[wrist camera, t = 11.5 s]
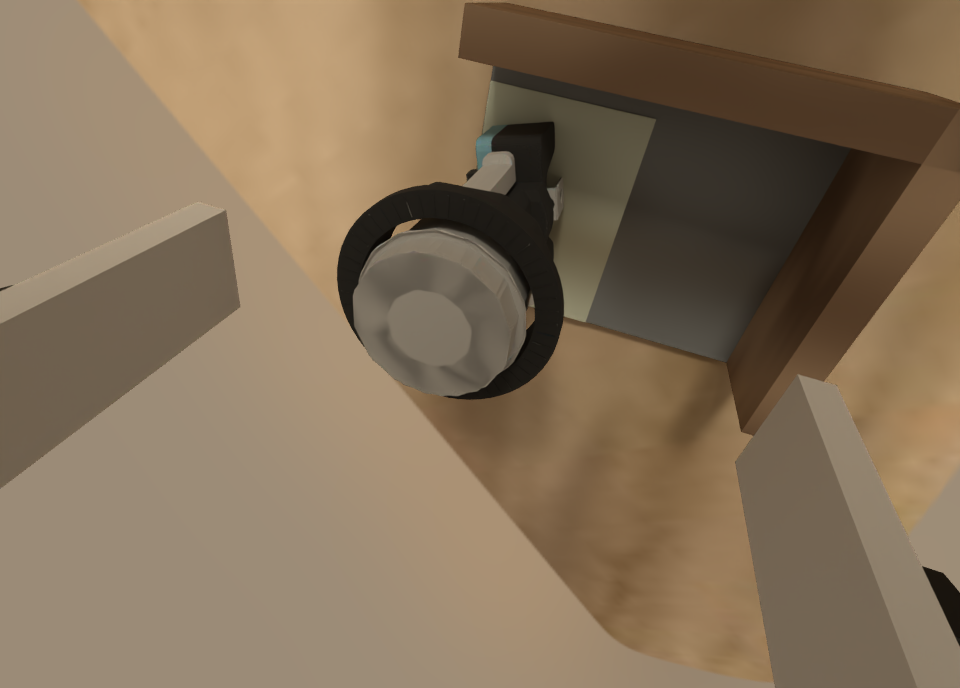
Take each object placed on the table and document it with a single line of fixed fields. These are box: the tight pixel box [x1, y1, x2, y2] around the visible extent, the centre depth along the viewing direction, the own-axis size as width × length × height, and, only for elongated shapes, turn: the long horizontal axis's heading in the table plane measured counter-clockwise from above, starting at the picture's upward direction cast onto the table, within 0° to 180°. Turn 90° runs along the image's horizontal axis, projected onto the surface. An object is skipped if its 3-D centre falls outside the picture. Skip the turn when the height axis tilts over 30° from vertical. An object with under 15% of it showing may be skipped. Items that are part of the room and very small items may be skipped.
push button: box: [337, 122, 564, 400], centre depth 15 cm, size 7×5×10 cm
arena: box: [458, 3, 960, 436], centre depth 16 cm, size 10×13×4 cm
